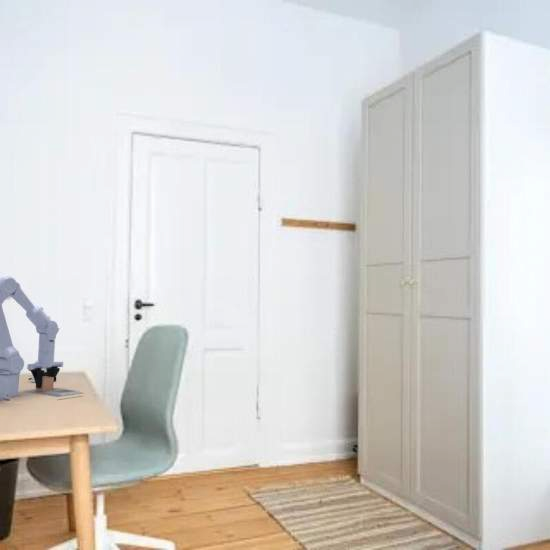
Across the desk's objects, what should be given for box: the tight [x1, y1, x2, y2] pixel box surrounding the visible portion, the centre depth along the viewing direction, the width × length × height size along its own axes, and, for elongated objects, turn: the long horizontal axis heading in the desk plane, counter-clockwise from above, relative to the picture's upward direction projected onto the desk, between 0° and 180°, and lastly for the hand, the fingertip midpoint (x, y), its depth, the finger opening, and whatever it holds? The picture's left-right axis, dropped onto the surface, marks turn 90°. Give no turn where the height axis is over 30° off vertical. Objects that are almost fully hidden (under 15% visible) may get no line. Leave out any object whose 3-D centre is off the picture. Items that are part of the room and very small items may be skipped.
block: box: [34, 376, 55, 392], centre depth 216 cm, size 4×4×5 cm
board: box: [24, 387, 83, 401], centre depth 214 cm, size 20×12×1 cm, turn 59°
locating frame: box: [46, 388, 81, 397], centre depth 211 cm, size 8×8×1 cm
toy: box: [27, 360, 57, 384], centre depth 244 cm, size 6×12×15 cm
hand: (44, 387), depth 216 cm, fingers closed on block, 4 cm apart
